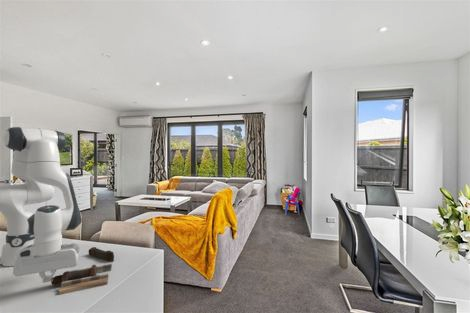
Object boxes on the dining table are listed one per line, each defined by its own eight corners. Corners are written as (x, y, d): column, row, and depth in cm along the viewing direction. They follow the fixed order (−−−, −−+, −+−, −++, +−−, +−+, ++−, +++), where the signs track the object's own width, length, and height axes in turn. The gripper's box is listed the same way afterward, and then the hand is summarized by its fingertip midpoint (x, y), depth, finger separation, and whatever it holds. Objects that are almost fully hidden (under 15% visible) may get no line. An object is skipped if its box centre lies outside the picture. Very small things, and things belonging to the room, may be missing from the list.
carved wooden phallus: (88, 255, 115) (88, 247, 115) (95, 253, 119) (96, 244, 119) (107, 264, 105) (107, 255, 106) (115, 261, 109) (115, 252, 109)
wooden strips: (71, 273, 97) (71, 267, 97) (112, 266, 103) (112, 260, 103) (58, 294, 82) (58, 287, 82) (107, 284, 88) (107, 278, 88)
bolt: (53, 289, 88) (96, 279, 94) (49, 289, 84) (94, 278, 90) (55, 273, 90) (97, 264, 96) (51, 272, 86) (95, 263, 92)
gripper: (81, 240, 94) (81, 272, 94) (19, 248, 86) (19, 282, 86) (77, 245, 88) (76, 279, 88) (10, 254, 80) (10, 291, 80)
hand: (48, 281), depth 87 cm, fingers closed
